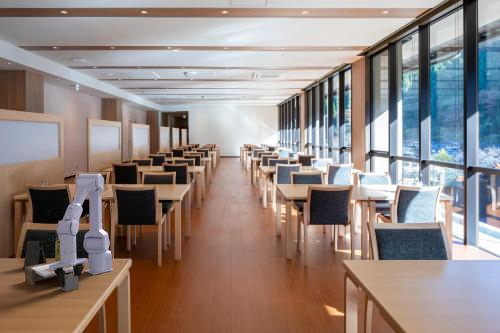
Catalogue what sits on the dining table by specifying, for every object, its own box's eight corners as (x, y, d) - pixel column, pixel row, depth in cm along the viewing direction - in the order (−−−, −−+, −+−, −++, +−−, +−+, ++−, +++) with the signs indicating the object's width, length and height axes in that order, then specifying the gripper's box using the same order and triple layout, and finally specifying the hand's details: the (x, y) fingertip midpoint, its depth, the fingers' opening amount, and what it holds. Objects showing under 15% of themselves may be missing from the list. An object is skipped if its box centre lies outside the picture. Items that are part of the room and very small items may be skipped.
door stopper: (35, 270, 206) (34, 243, 205) (23, 269, 206) (22, 243, 206) (46, 264, 215) (45, 239, 214) (34, 264, 215) (33, 239, 215)
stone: (72, 285, 183) (72, 273, 182) (78, 288, 179) (78, 276, 179) (60, 288, 179) (60, 276, 179) (66, 291, 176) (65, 278, 175)
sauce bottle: (56, 265, 213) (54, 222, 212) (54, 262, 219) (53, 220, 218) (71, 263, 216) (69, 221, 215) (69, 260, 222) (68, 219, 221)
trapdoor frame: (65, 272, 201) (65, 259, 200) (73, 276, 196) (72, 262, 195) (25, 281, 189) (24, 267, 188) (32, 285, 184) (31, 270, 183)
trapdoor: (30, 270, 188) (30, 267, 188) (64, 263, 198) (64, 260, 198) (44, 277, 178) (44, 274, 178) (79, 269, 188) (79, 267, 188)
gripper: (54, 256, 170) (55, 292, 171) (90, 249, 181) (91, 283, 181) (46, 252, 175) (47, 287, 176) (82, 246, 186) (83, 279, 186)
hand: (69, 285), depth 179 cm, fingers closed on stone, 5 cm apart
